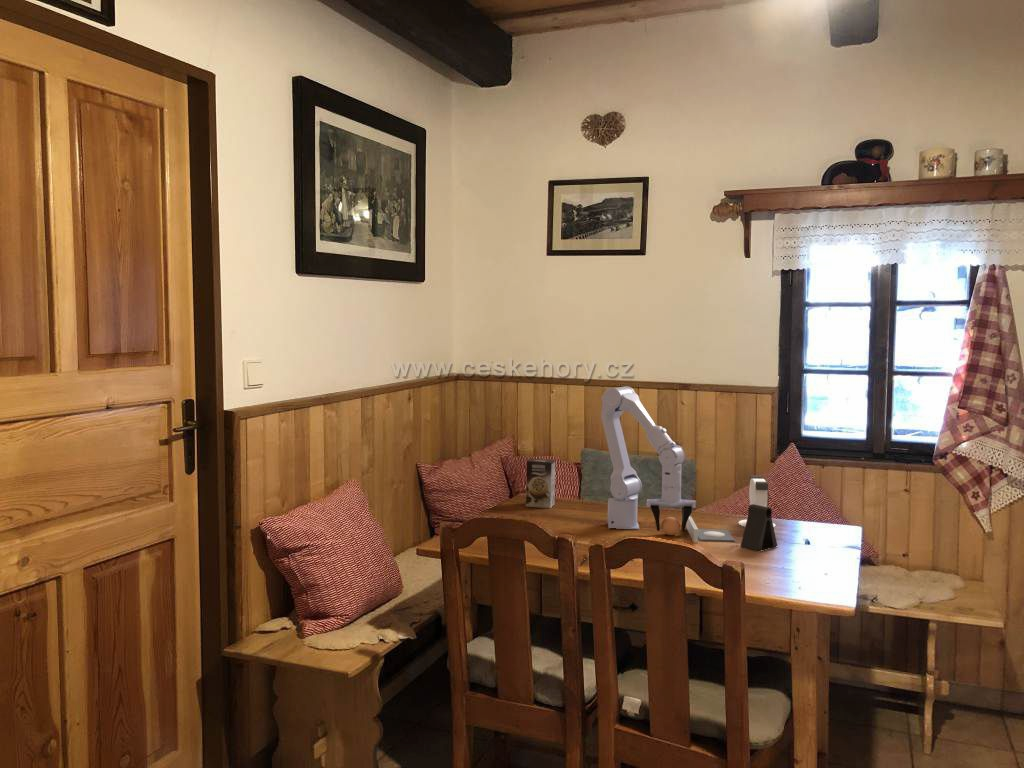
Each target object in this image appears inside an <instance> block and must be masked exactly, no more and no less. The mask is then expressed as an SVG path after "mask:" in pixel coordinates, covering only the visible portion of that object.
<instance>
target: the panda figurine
mask: <svg viewBox="0 0 1024 768" xmlns="http://www.w3.org/2000/svg"><path fill="white" fill-rule="evenodd" d="M749 480H750V481H749V490H748V491H749V492H748V493H749V496H748V497H749V506H750V505H753V504H755V505H759V506H763V507H768V504H769V499H770V498H769V497H770V496H769V495H770V493H769V482H768V481H766V479H764V478H763V476H762V475H750V477H749ZM746 522H747V519H742V520H741V519H740V520H739V521H738V525H739V526H740V525H741V527H743V526H744V527H743V528H745V526H746ZM775 526H777V525H776V523H774V522H773V527H775ZM775 528H776V527H775Z"/></svg>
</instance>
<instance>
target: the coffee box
mask: <svg viewBox="0 0 1024 768" xmlns="http://www.w3.org/2000/svg"><path fill="white" fill-rule="evenodd" d="M525 475H526V477H525V478H526V479H525V480H526V484H525V485H526V487H525V507H527V508H528V507H529V508H539V509H540V508H541V509H542V508H543V509H552V506H553V505H554V506H555V492H556V491H555V490H556V487H555V486H556V484H555V483H556V482H555V481H556V478H555V477H556V459H545V458H544V459H543V458H532V457H531V458H530V459H528V460H526V474H525Z"/></svg>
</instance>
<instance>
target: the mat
mask: <svg viewBox="0 0 1024 768" xmlns="http://www.w3.org/2000/svg"><path fill="white" fill-rule="evenodd" d="M698 541H700V542H729V543H730V542H731V543H733V542H735V539H734V538H733V536H732V534H731V533H730V531H729V530H728V529H719V528H718V529H715V528H713V529H710V528H709V529H707V528H698Z"/></svg>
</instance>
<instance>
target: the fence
mask: <svg viewBox="0 0 1024 768" xmlns="http://www.w3.org/2000/svg"><path fill="white" fill-rule="evenodd" d="M698 529H699V528H698V526H697V525H696V523H695V521H694V519H693V517H692V516H691V515H690V516H689V518H688V520H687V523H686V531H687V532H688V534H689V536H690V538H691V540H692V542H693V543H695V544H696V543H697V544H699V538H698Z"/></svg>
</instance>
